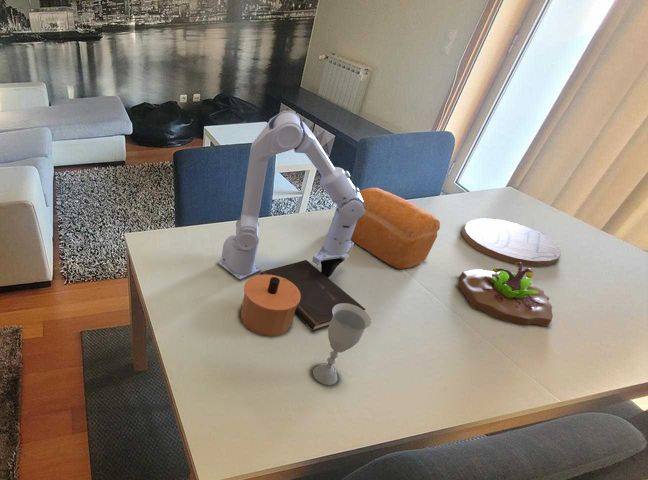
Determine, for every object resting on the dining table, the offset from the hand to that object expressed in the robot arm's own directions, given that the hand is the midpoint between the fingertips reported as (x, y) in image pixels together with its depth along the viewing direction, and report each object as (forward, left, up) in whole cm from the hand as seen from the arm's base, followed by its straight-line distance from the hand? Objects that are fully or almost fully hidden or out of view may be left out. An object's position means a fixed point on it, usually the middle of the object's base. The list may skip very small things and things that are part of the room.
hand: (325, 276), depth 113 cm
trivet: (+19, +65, -1) cm, 68 cm away
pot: (+2, -26, -1) cm, 26 cm away
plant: (+31, +33, -1) cm, 46 cm away
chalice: (+22, -28, -1) cm, 36 cm away
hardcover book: (+2, -10, -1) cm, 10 cm away
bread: (-3, +29, -1) cm, 29 cm away
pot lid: (+2, -26, +7) cm, 27 cm away
